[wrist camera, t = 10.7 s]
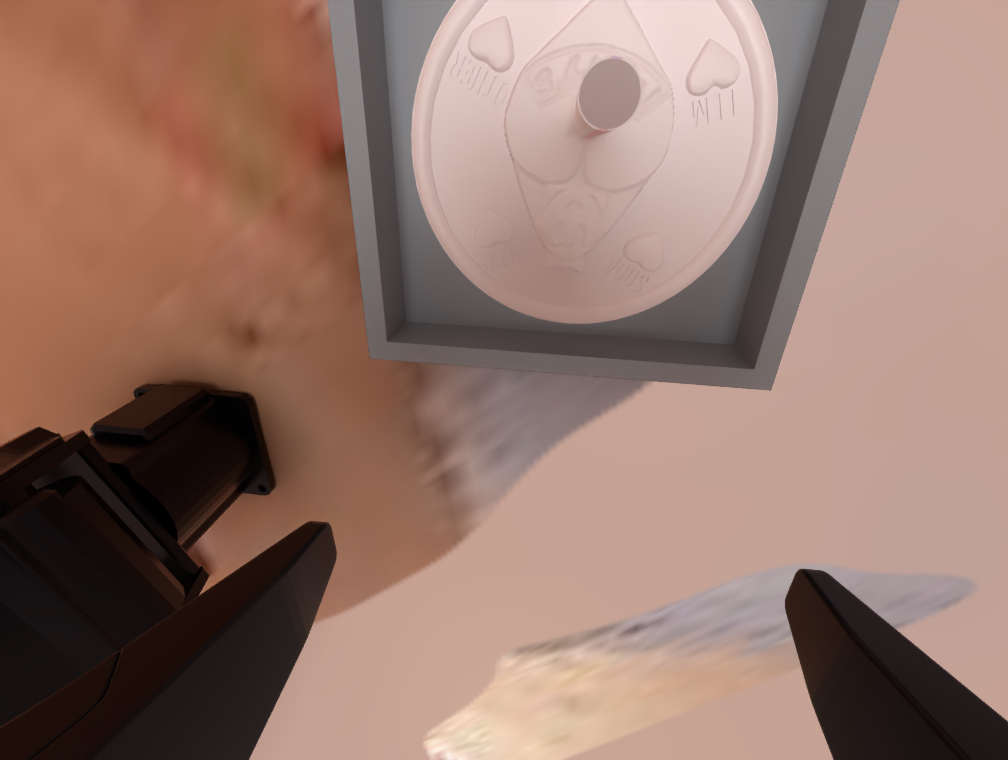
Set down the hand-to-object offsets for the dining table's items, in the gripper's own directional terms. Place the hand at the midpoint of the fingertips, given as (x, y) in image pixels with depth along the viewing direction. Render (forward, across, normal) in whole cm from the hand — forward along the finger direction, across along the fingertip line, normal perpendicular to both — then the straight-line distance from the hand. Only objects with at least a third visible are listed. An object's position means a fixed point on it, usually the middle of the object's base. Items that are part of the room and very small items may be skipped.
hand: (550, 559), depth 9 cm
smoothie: (+12, 0, -7) cm, 14 cm away
